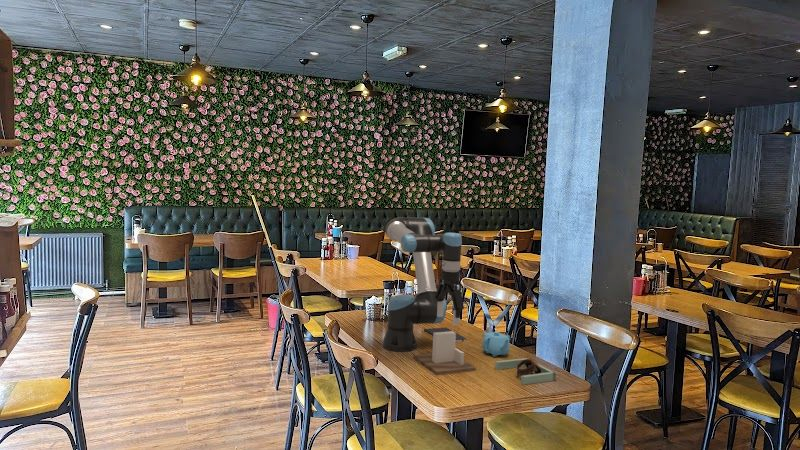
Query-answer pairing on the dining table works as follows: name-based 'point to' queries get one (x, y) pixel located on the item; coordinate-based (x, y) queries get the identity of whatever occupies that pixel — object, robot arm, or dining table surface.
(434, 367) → the board
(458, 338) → the notebook
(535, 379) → the corral
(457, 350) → the grey l-shaped bookend
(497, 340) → the blue piggy bank
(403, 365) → the dining table surface
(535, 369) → the brown twisted sculpture
